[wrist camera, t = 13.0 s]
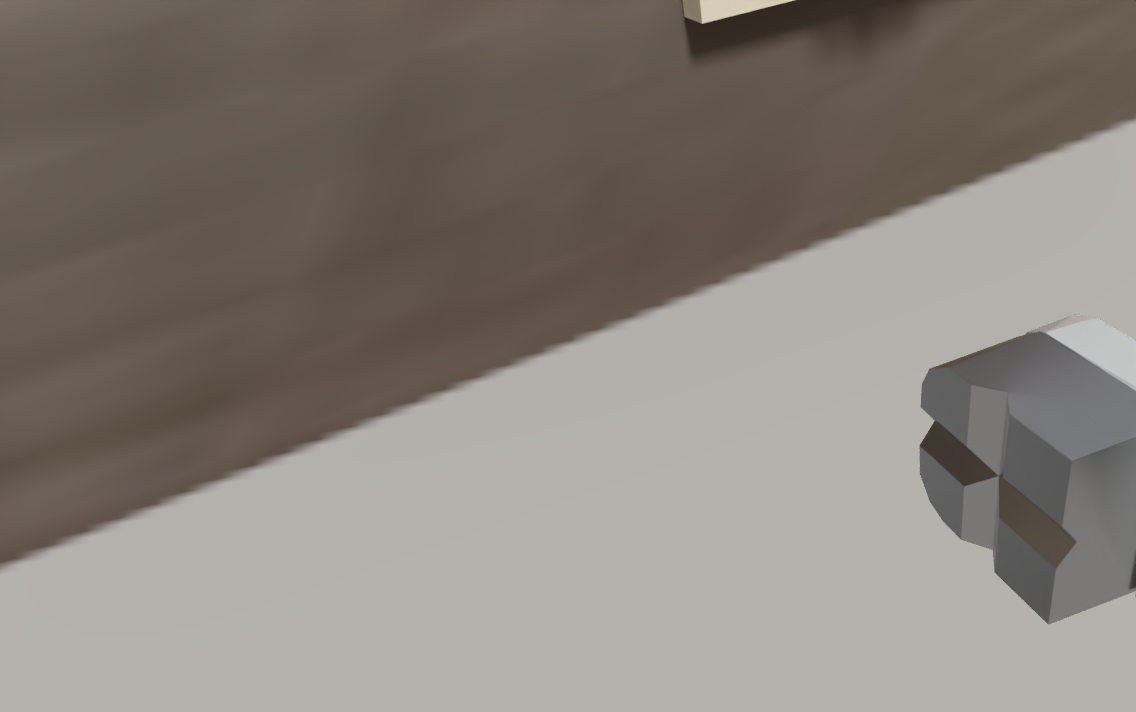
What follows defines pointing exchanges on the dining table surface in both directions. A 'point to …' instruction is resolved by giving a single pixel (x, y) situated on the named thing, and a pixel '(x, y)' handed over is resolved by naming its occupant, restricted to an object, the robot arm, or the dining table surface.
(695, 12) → the gear board
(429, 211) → the dining table surface
